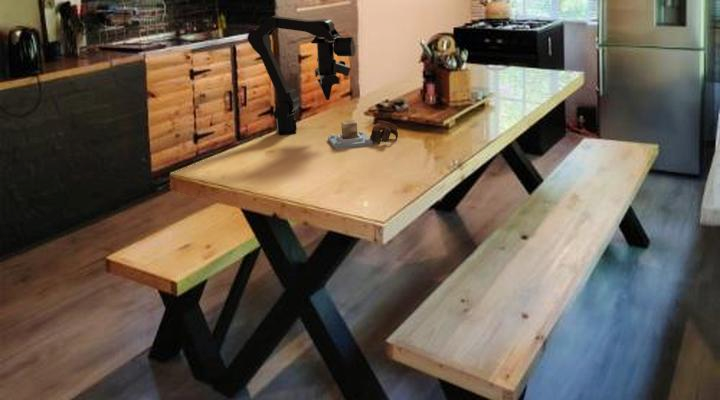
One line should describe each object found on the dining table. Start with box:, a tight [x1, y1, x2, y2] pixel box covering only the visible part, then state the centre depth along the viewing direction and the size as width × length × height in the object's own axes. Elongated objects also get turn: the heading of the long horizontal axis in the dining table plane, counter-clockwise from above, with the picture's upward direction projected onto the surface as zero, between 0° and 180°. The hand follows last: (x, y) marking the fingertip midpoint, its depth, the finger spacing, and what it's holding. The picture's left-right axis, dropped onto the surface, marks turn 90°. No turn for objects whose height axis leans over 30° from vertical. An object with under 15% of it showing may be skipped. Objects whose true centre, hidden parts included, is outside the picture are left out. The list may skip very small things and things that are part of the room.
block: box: [340, 119, 358, 139], centre depth 260 cm, size 4×4×6 cm
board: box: [327, 131, 374, 150], centre depth 261 cm, size 13×13×2 cm
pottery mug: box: [369, 120, 399, 145], centre depth 259 cm, size 12×10×8 cm
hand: (327, 99), depth 270 cm, fingers closed
